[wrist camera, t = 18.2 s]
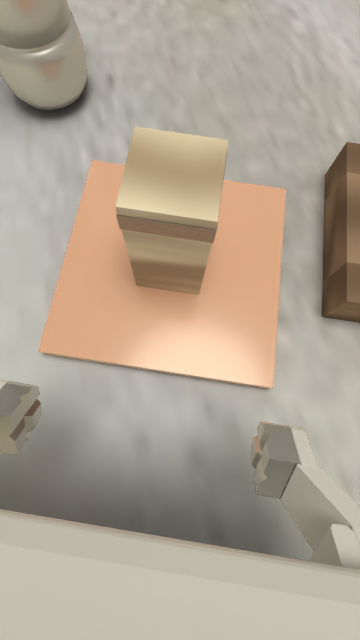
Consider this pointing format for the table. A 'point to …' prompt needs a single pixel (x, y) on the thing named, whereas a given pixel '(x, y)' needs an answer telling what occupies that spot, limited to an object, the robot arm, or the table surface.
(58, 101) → the plastic bottle
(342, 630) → the robot arm
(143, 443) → the table surface
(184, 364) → the terracotta tile
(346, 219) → the walnut collar holder
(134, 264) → the block
